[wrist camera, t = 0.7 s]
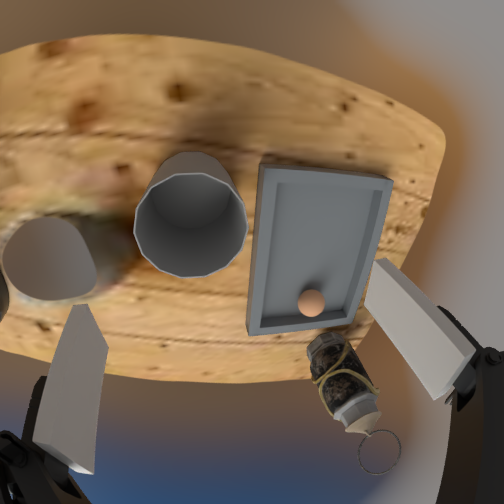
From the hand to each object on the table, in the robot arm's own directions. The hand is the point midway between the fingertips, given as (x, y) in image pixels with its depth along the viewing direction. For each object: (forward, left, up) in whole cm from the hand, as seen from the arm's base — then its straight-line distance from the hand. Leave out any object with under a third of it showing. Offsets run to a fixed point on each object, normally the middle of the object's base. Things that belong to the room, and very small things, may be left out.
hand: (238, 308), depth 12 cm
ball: (+13, -15, -19) cm, 27 cm away
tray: (+13, -9, -19) cm, 25 cm away
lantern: (+19, -27, -20) cm, 38 cm away
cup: (-2, -1, -20) cm, 20 cm away
